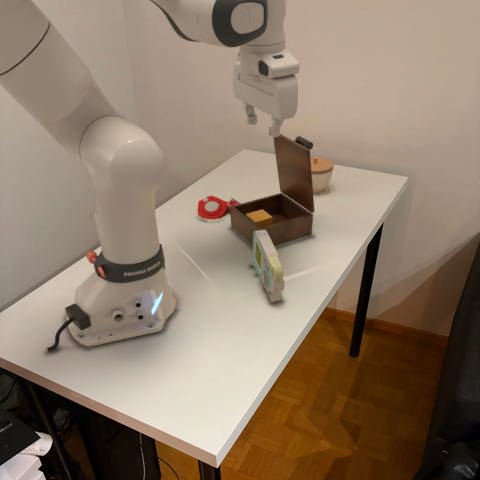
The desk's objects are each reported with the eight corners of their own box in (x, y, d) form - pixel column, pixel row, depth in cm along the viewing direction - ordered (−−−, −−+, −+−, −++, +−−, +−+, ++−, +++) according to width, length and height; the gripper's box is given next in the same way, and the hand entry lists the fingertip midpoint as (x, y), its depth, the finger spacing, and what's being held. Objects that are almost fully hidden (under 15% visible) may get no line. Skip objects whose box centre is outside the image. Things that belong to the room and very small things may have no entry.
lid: (307, 150, 108) (325, 142, 109) (272, 132, 118) (289, 124, 119) (312, 213, 119) (328, 205, 120) (280, 191, 129) (295, 184, 130)
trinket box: (294, 181, 150) (296, 151, 144) (329, 181, 149) (332, 151, 143) (296, 196, 142) (297, 165, 136) (332, 196, 141) (336, 165, 135)
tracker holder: (204, 221, 128) (189, 199, 133) (207, 232, 132) (192, 210, 137) (244, 202, 130) (228, 181, 135) (246, 214, 134) (230, 193, 139)
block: (255, 239, 121) (255, 222, 118) (245, 231, 125) (245, 213, 121) (272, 234, 123) (272, 217, 120) (262, 226, 126) (262, 209, 123)
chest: (259, 253, 118) (259, 230, 114) (230, 228, 128) (230, 206, 124) (311, 236, 123) (313, 214, 119) (280, 213, 133) (281, 192, 129)
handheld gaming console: (269, 310, 104) (250, 266, 113) (282, 308, 104) (262, 264, 114) (273, 271, 95) (252, 227, 105) (286, 269, 96) (264, 225, 106)
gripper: (223, 50, 100) (227, 119, 109) (275, 70, 86) (275, 147, 95) (250, 46, 102) (251, 114, 111) (305, 65, 88) (301, 140, 97)
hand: (262, 129), depth 103 cm, fingers open, 8 cm apart
